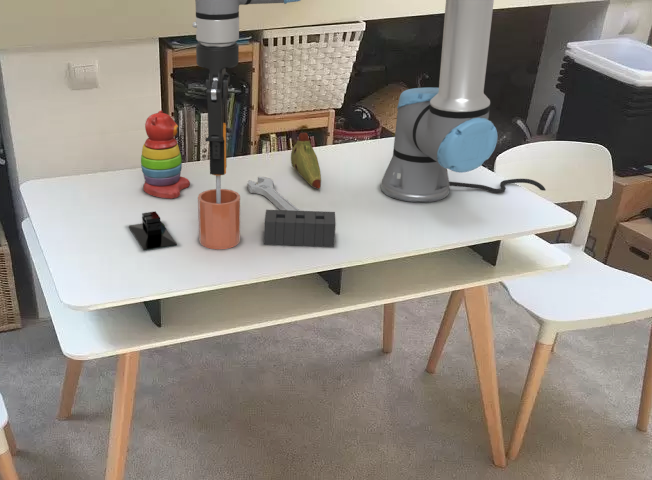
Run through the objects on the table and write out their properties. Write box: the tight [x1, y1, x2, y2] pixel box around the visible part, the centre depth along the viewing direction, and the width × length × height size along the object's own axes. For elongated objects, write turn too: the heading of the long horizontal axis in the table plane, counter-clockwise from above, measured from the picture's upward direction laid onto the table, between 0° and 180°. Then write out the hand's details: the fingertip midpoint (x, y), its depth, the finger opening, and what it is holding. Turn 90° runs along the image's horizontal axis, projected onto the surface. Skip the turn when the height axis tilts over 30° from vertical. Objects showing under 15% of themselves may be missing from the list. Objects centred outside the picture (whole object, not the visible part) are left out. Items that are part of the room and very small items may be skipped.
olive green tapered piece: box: [290, 131, 322, 190], centre depth 181 cm, size 20×5×10 cm, turn 11°
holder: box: [263, 209, 337, 248], centre depth 153 cm, size 14×6×5 cm, turn 84°
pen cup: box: [197, 188, 241, 250], centre depth 152 cm, size 8×8×10 cm
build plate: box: [128, 211, 178, 252], centre depth 156 cm, size 12×7×5 cm, turn 19°
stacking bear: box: [140, 109, 191, 200], centre depth 174 cm, size 11×10×18 cm
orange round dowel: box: [215, 123, 227, 204], centre depth 146 cm, size 3×3×16 cm
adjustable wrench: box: [247, 176, 301, 211], centre depth 171 cm, size 25×6×2 cm, turn 17°
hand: (218, 170), depth 147 cm, fingers closed on orange round dowel, 3 cm apart
